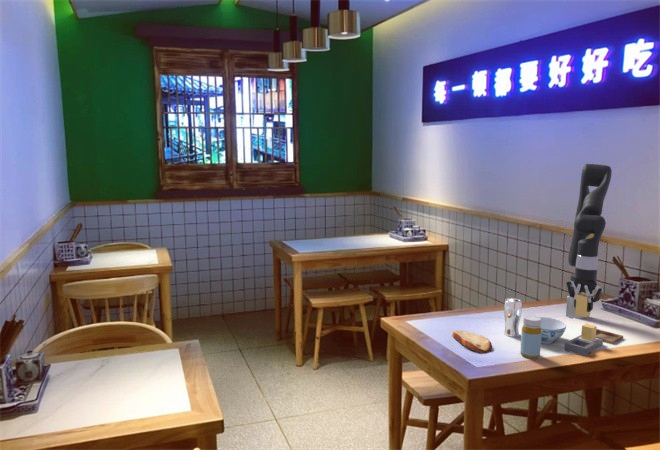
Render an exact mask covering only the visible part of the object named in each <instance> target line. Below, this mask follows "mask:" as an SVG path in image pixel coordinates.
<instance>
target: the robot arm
mask: <svg viewBox="0 0 660 450" xmlns="http://www.w3.org/2000/svg"><path fill="white" fill-rule="evenodd" d="M612 173H613V172H612V168H611V166H609V165H606V164H598V163H595V164H594V163H586V164H584V166H583V167H582V169H581V174H580V185H579V187H580V188H579V194H578V195H579V196H578V203H577V207H576V211H575V218H574V222H573V232H572V233H573V234H572V239H571V242H570V247H569V252H568V257H567V259H568V261H567V262H568V265H569V266H571V267H573V268H575V270H574V271H575V272H574V273H572V274H571V275H570V280H569V281H567V282H566V286H567V290H568V295H567V297H566V308H565V309H566V310H565V316H566V317H568V318H570V319H578V320H579V319H580V320H587V319H590V316H591V314H590V315H589V316H587V317H583V316H579V315H575V310H576V296H577V295H579V294H581V293H584V294H586V296H587V297H588V305H587V312H590V313H591V311H593V308H594V303H597V302H599V301H600V298H601V297H602V295H603V293H604V291H605V288H604V287H601V286H599V285H598V283H597V277H598V276H597V275H598V269H599V268H598V267H599V265H598V264H599V260H598V258H599V255H598V254H599V244H600V241H601V238H602V235H603V233H604V230H605V228H606V224H607V223H606V219H605V217H604V216H602V212H603V207H604V200H605V198H606V196H607V192H608V189H609V186H610V183H611V180H612ZM589 187H595V189H593V190H592V191H590V188H589ZM590 235H593V236H592V237H589V236H590ZM588 237H589V238H588ZM594 290H595V292H596V293H594ZM594 294H595V295H594Z"/></svg>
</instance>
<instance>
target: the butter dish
mask: <svg viewBox="0 0 660 450" xmlns="http://www.w3.org/2000/svg"><path fill="white" fill-rule="evenodd" d="M597 329H598V327H597V325H594V324H590V323H584V324H583V325H582V326H581V332H580V333H581V334H580V335H578V336H576V337H573V338H572V339H570V340H567V341H566V342H564V343H565V344H564V351H567V352H570V353H573V354H576V355H580V356H583V357H587V356H589V355H590V354H592V352H593V351H594V350H596V349H598V348H599V347H601V346H603V343H604V342H603V339H599V338H596V330H597Z"/></svg>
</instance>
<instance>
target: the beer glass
mask: <svg viewBox="0 0 660 450" xmlns="http://www.w3.org/2000/svg"><path fill="white" fill-rule="evenodd" d="M522 303H523V302H522V300H521V299H519V298H515V297H509V298H505V300H504V307H503V315H504V323H505V325H504V331H503V334H504V336H506V337H510V338H511V337H512V338H516V337H519V336H520V330H519V325H520V321H521V317H522V307H523V306H522Z"/></svg>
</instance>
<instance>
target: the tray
mask: <svg viewBox="0 0 660 450" xmlns="http://www.w3.org/2000/svg"><path fill="white" fill-rule="evenodd" d="M596 338H599V339H603V343H606V344H609V345H615V344H616V343H619V341H621V340H623V339H624V335H621V334H618V333H615V332H610V331H607V330H603V329H598V328H597V330H596Z"/></svg>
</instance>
